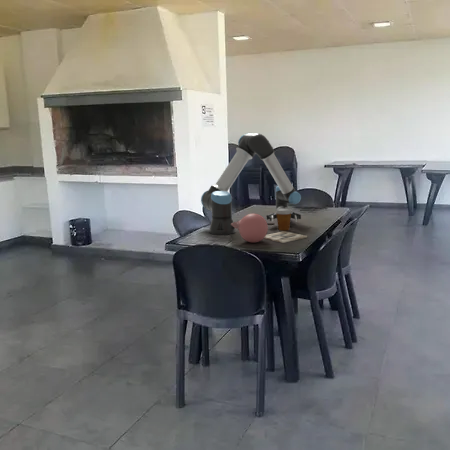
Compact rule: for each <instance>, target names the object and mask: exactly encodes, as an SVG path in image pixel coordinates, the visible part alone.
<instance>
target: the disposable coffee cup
mask: <svg viewBox="0 0 450 450" xmlns="http://www.w3.org/2000/svg"><path fill="white" fill-rule="evenodd" d="M292 212H293V210H292V209H291V208H289V207H288V208H280V209H276V208H275V214H276V215H277V218H276V221H277V229H278V230H279V231H280V232H283V231H286V232H288V231H290V227H291V219H292V218H291V214H292Z"/></svg>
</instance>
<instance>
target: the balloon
mask: <svg viewBox="0 0 450 450" xmlns="http://www.w3.org/2000/svg"><path fill="white" fill-rule="evenodd" d="M231 225H232V226H233V227H234V228H235V229H237V230H238V233H239V235H240V237H241V238H242V239H243V240H244V241H246V242H248V243H253V244H254V243H259V242H261V241H262V240H264V239H265V238H264V237H265V236H266V235H268V229H269V226H268V223H267V219H266V218H264V217H263V216H262V215H260V214H258V213H253V212H252V213H249V214H246V215H244V216H243V217H242V218H241V219H240V220H237V221H233V223H231Z"/></svg>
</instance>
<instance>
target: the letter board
mask: <svg viewBox="0 0 450 450" xmlns="http://www.w3.org/2000/svg"><path fill="white" fill-rule="evenodd" d="M307 238H308V235H303V234H300V233H299V234H298V233H294V232H290V231H278V232H272V233H267V234H266V236H265V237H264V238H263V239H264V240H269V241H273V242H277V243H281V244H284V243H289V242H292V241H293V242H294V241H297V240H301V239H302V240H303V239H307Z"/></svg>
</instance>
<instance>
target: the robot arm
mask: <svg viewBox="0 0 450 450" xmlns="http://www.w3.org/2000/svg"><path fill="white" fill-rule="evenodd" d="M235 149H236V152H235V154H234V155H233V157H232V158H231V160H230V162H229V163H228V165H227V166H226V167H225V169H224V170H223V172H222V173H221V175H220V177H219V178H218V180H217V181H216V182H215V183H214V184H211V186H210V187H209V189H208V190H206V191H204V192H203V193H202V195H201V196H200V202H201V206H202V207H203V208H204V209H206V210H207V211H210V212H211V222H210V225H209V230H208V231H209V233H210V234H212V235H217V236H218V235H219V236H221V235H222V236H223V235H224V236H225V235H231V234H235V233H236V228H234V227H233V226H232V225H231V223H234V221H233V211H232V208H233V207H232V206H233V204H232V203H233V198H232V194H231V193H230V192H229V190H230V189H231V187H232V186H233V184H234V183H235V181H236V180H237V178H238V176H239V175H240V173H241V172H242V170H243V169H244V168H245V166H246V164H247V163H248V162H249V161H250V160H252V159H253V158H254V157H255V156H258V157H259V159H260V160H262V161H263V163H264V165H265V166H266V169H268V171H269V173H270V174H271V177H272V178H273V179H274V182H275V183H276V185H277V186H276V187H275V210H276V209H280V208H288V209H289V207H288V206H289V204H293V205H296V204H299V203H300V201H301V199H302V195H301V193H299V192H298V191H296V189H295V187H294V186H293V185H292V183H291V181H290V179H289V177H288V176H287V174H286V172H285V170H284V169H283V167H282V166H281V164H280V162H279V160H278V158H277V157H276V155H275V149H274V148H273V146H272V144H271V143H270V141H269V140H268V139H267V138H266V136H265V135H263V134H261V133H252V132H247V133H245V134H242V135H241V136H240V137H239V139H238V142H237V147H236V148H235ZM275 219H276V220H277V215H276V212H271V213H269V214H267V215H266V221H267V220H268V221H269V222H272V223H274V220H275ZM291 219H294V221H295V222H296V223H297V222H298V220H301V219H302V214H300V213H296V212H294V211H292V213H291Z"/></svg>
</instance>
